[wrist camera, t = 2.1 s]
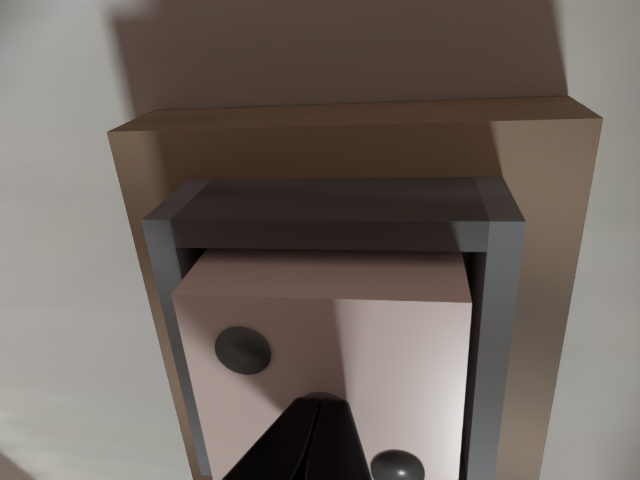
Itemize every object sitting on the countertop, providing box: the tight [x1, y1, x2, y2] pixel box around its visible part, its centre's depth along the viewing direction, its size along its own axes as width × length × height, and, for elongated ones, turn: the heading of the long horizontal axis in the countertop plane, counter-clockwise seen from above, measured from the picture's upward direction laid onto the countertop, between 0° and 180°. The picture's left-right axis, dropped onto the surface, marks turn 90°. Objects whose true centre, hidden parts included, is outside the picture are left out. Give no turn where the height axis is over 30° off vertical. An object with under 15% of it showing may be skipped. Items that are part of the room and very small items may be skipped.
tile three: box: [172, 248, 472, 480], centre depth 9 cm, size 4×4×2 cm
